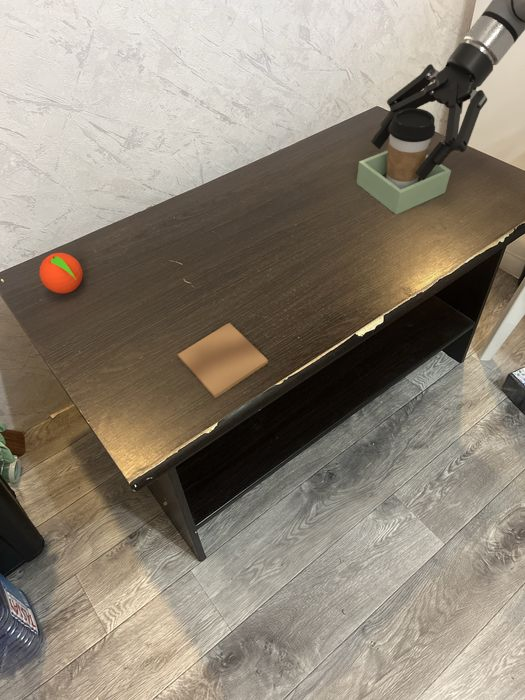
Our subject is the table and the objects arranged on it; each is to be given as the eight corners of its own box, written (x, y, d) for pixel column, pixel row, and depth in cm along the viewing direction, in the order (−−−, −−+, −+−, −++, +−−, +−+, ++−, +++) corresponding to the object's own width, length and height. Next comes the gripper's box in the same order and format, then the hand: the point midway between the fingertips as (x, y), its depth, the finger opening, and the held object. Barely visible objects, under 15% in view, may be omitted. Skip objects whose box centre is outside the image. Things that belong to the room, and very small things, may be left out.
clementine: (100, 286, 89) (87, 256, 83) (69, 310, 86) (53, 280, 80) (71, 268, 92) (56, 238, 86) (40, 291, 89) (23, 260, 83)
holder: (445, 192, 101) (451, 170, 97) (396, 214, 97) (400, 192, 93) (403, 163, 107) (407, 142, 104) (356, 183, 104) (358, 161, 100)
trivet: (268, 362, 77) (268, 359, 76) (215, 398, 73) (214, 395, 73) (229, 325, 82) (229, 322, 81) (178, 357, 78) (177, 354, 78)
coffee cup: (375, 196, 101) (386, 124, 89) (383, 173, 106) (395, 102, 94) (417, 203, 99) (434, 131, 87) (424, 179, 104) (441, 107, 92)
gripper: (539, 92, 84) (448, 199, 92) (437, 44, 98) (366, 141, 106) (528, 67, 79) (433, 183, 87) (422, 19, 92) (348, 124, 100)
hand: (396, 160), depth 96 cm, fingers open, 12 cm apart
